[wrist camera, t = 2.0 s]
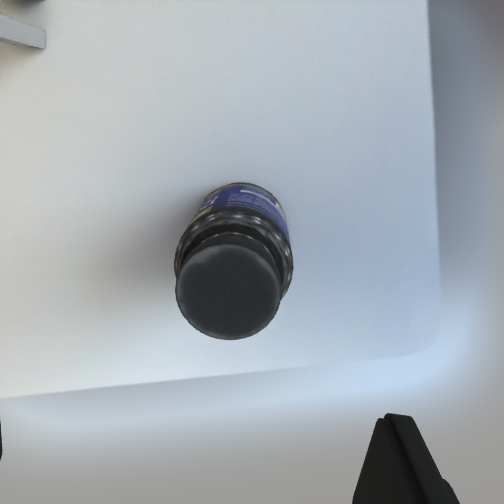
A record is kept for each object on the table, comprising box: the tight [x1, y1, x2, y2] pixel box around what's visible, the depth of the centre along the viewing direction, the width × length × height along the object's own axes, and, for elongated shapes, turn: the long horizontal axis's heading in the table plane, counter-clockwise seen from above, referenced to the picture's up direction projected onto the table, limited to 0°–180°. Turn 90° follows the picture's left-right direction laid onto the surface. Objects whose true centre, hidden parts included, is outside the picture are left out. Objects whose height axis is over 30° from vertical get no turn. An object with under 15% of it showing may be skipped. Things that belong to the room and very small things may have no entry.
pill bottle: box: [174, 183, 294, 340], centre depth 23 cm, size 6×6×11 cm
